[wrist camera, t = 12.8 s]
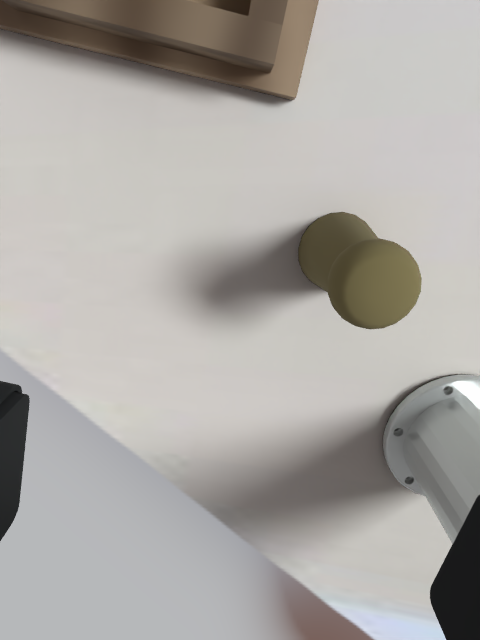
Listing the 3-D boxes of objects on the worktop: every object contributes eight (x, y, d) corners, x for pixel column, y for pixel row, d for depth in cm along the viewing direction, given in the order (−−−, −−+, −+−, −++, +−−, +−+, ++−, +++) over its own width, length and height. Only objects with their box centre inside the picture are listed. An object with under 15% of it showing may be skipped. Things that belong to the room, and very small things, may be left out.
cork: (285, 272, 35) (308, 321, 24) (319, 199, 33) (359, 218, 22) (353, 300, 36) (403, 359, 25) (390, 230, 34) (460, 263, 23)
